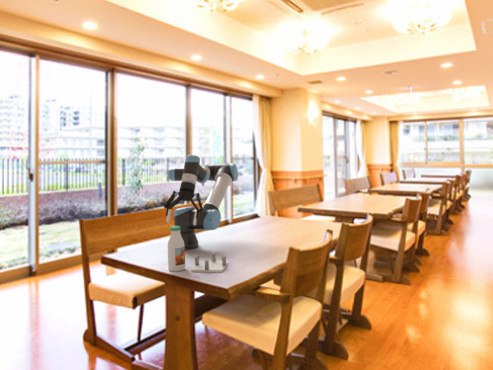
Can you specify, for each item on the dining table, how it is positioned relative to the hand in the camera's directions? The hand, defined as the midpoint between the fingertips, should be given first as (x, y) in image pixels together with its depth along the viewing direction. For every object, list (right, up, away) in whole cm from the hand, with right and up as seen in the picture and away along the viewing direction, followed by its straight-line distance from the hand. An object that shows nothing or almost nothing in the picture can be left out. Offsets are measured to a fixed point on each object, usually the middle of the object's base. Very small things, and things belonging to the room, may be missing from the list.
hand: (180, 223), depth 173 cm
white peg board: (+16, -19, -10) cm, 27 cm away
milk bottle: (0, -20, -11) cm, 23 cm away
